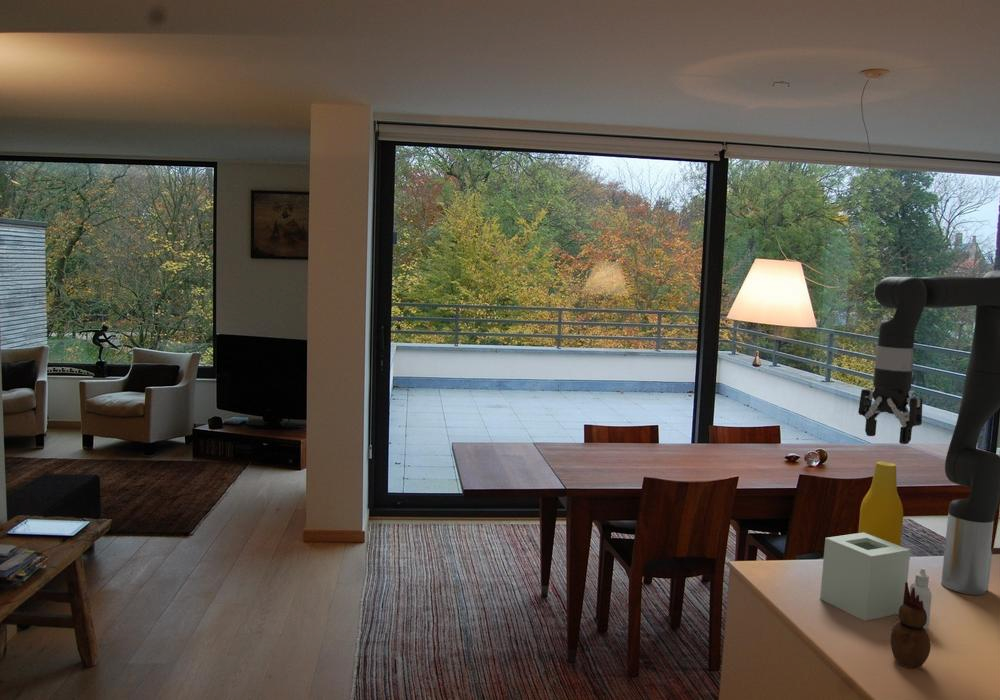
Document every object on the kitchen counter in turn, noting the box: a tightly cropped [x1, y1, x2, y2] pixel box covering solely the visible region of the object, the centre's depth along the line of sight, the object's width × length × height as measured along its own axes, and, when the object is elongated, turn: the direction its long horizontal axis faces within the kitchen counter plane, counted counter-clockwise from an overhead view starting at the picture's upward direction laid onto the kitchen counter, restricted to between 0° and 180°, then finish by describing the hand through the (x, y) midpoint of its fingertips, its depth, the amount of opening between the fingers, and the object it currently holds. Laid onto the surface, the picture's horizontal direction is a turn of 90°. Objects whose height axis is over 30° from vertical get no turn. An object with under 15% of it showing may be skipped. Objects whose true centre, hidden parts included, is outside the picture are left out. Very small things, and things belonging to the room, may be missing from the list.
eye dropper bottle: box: [909, 567, 933, 630], centre depth 166 cm, size 4×6×12 cm
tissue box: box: [819, 532, 911, 622], centre depth 174 cm, size 12×12×14 cm
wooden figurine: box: [889, 581, 932, 669], centre depth 148 cm, size 7×6×15 cm
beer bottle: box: [857, 461, 904, 546], centre depth 187 cm, size 9×9×29 cm
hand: (886, 439), depth 177 cm, fingers open, 8 cm apart
